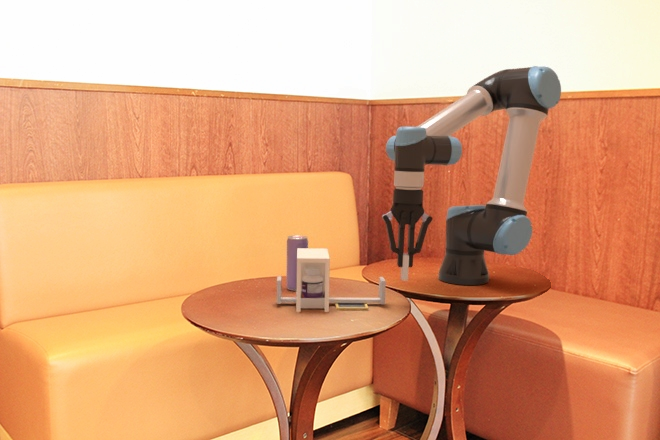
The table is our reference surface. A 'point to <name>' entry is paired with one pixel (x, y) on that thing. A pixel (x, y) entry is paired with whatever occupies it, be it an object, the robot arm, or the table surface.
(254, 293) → the table surface
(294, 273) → the beverage can
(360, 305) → the tray
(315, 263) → the tunnel
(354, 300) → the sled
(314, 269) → the pill bottle
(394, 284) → the table surface
